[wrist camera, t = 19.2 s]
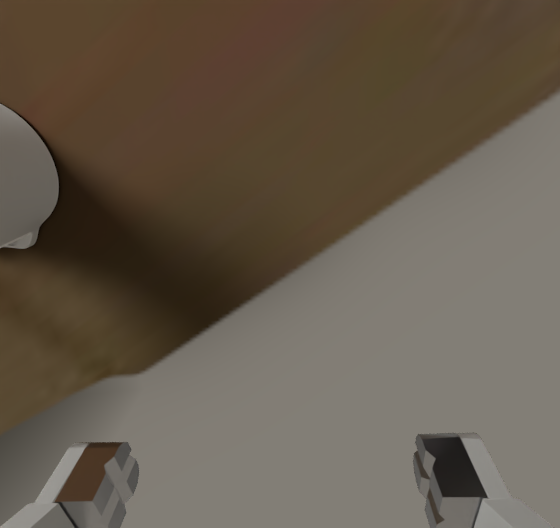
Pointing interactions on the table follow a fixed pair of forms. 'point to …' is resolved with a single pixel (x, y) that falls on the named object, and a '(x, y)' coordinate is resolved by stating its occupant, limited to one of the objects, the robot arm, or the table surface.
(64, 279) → the table surface
